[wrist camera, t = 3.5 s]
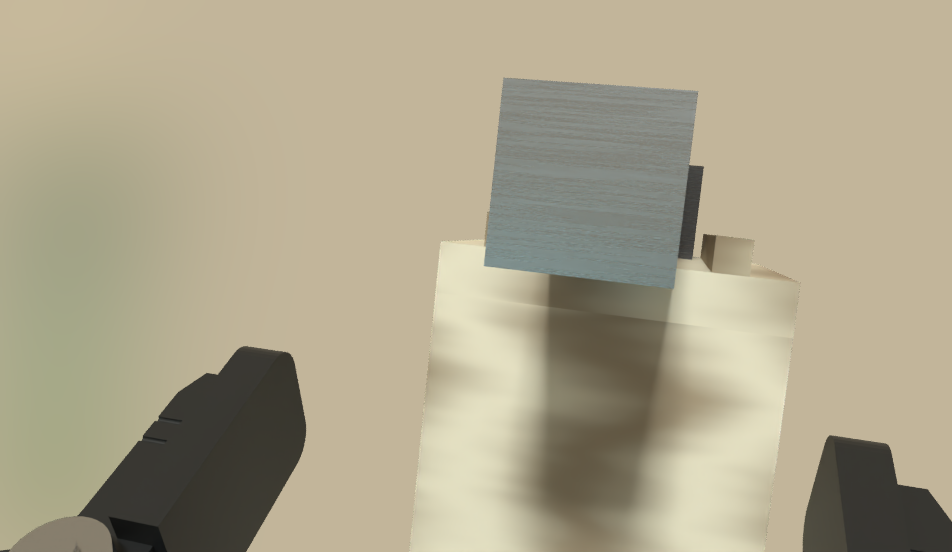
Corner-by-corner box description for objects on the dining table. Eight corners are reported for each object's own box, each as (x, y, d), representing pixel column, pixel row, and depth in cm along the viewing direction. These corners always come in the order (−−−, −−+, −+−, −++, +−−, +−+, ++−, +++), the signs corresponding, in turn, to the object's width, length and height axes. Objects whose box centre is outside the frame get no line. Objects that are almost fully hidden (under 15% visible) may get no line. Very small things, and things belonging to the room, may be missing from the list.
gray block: (690, 256, 37) (700, 174, 36) (705, 292, 15) (730, 93, 15) (583, 244, 38) (592, 164, 37) (455, 262, 16) (474, 75, 16)
